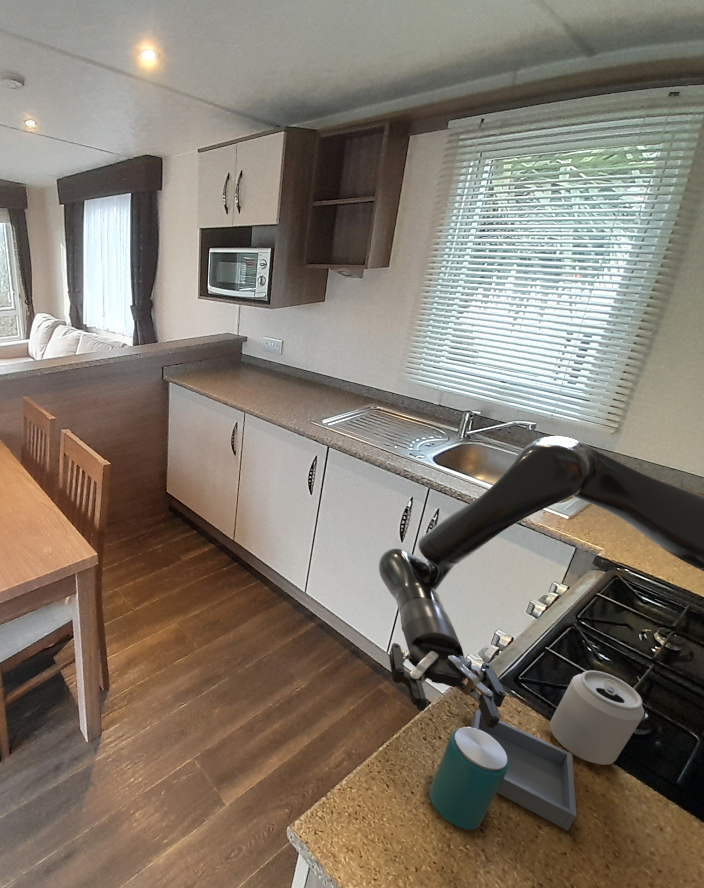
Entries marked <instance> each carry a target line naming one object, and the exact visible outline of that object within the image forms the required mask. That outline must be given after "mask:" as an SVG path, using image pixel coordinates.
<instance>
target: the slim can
mask: <svg viewBox="0 0 704 888" xmlns="http://www.w3.org/2000/svg"><path fill="white" fill-rule="evenodd" d="M508 768H509V761H508V758H507V755H506V753H505V751H504V749H503V748H502V746H501V745H500V744H499V743H498V742H497V741H496V740H495V739H494V738H493V737H491V736H490V735H488V734H487V733H485V732H483V731H481V730H478V729H475V728H471V727H470V726H463V727H460V728H457V729H456V728H455V730H453V731H452V733H451V735H450V736H449V739H448V742H447V744H446V747H445V749H444V752H443V754H442V756H441V759H440V762H439V764H438V766H437V769H436V772H435V774H434V777H433V779H432V782H431V783H430V787H429V789H428V795H429V799H430V802H431V804H432V806H433V807H434V809H435V810H436V812H437V813H438V814H439V816H441V817H442V818H443V819H444V820H445V821H446V822H448V823H450V824H451V825H453V826H455V827H457V828H459V829H462V830H470V831H471V830H476V829H478V828H479V827H480V826H481V825H482V824H483V821H484V819H485V816H486V815H487V813H488V811H489V809H490V807H491V805H492V803H493V800H494V799H495V797H496V795H497V794H498V793H497V791H498V789H499V787H500V785H501V783H502V781H503V779H504V777H505V775H506V773H507V771H508Z"/></svg>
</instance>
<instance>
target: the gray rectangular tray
mask: <svg viewBox="0 0 704 888" xmlns="http://www.w3.org/2000/svg"><path fill="white" fill-rule="evenodd" d="M474 711H475V712H474V714H473V716H472V718H471V720H470V725H469V727H471V728H475V729H478V730H481V731H483V732H485V733H487V734H488V735H490V736H491V737H493V738H494V739H495V740H496V741H497V742H498V743H499V744H500V745H501V746H502V748H503V749H504V751H505V753H506V755H507V758H508V761H509V768H508V771H507V773H506V775H505V777H504V779H503V781H502V783H501V785H500V787H499V789H498V791H497V793H496V794H498V795H500V796H502V797H503V798H506V799H507V800H510V801H511V802H514V803H515V804H517V805H519V806H520V807H523V808H524V809H527V810H528V811H530V812H532V813H534V814H535V815H537V816H540V817H541V818H543V819H545V820H547V821H549V822H550V823H552V824H554V825H556V826H558V827H560V828H561V829H564V830H566V831H568V830H569V829H570V827H571V826H572V824H573V823H574V821H575V820H576V819H577V806H576V805H577V804H576V791H575V790H576V789H575V775H574V774H575V773H574V760H573V759H574V758H573V754H572V753H570V752H569V751H568V750H566V749H564V748H563V749H562V748H561V747H558V746H556V745H554V744H551V743H550V742H548V741H545V740H543V739H541V738H539V737H536V736H534V735H532V734H530V733H528V732H526V731H524V730H521V729H520V728H517V727H515V726H513V725H511V724H508V723H507V722H504V721H502V720H500V719H499V722H498V724H497V725H495V727H494V728H489V727H487V726H486V724H485V721H484V719H483V716H482V714H481V711H480V710H478V709H475V710H474Z"/></svg>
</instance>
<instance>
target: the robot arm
mask: <svg viewBox="0 0 704 888" xmlns="http://www.w3.org/2000/svg"><path fill="white" fill-rule="evenodd" d="M571 497H573V498H576V499H579V500H581V501H583V502H586V503H588V504H589V505H590V504H591V505H593V506H595V507H598V508H600V509H602V510H605V511H606V512H608V513H610V514H612V515H614V516H616V517H617V518H619V519H621V520H622V521H623V522H625V523H627V524H628V525H629V526H630V527H632V528H634V529H635V530H636V531H638V532H639V533H641V534H642V535H643V536H644V537H645V538H647V539H649V541H651V542H653V543H654V544H656V545H657V546H659V547H660V548H661V549H662V550H665V551H666V552H668V553H669V554H671V555H672V556H674V557H675V558H677V559H679V560H680V561H683V562H684V563H686V564H688V565H690V566H692V567H694V568H695V569H698V570H700V571H702V572H704V495H701V494H699V493H696V492H694V491H691V490H689V489H686V488H682V487H680V486H678V485H675V484H672V483H668V482H666V481H663V480H660V479H657V478H655V477H652V476H650V475H648V474H645V473H643V472H640V471H639V470H636V469H635V468H632V467H630V466H629V465H626V464H624V463H622V462H620V461H618V460H617V459H614V458H612V457H610V456H608V455H606V454H605V453H603V452H601V451H599V450H597V449H595V448H593V447H591V446H589V445H587V444H586V443H583V442H582V441H579V440H577V439H574V438H571V437H567V436H557V435H556V436H555V435H552V436H545V437H540V438H538V439H535V440H533V441H532V442H530V443H528V444H527V445H526V446H525V447H524V448H523V449H522V450H521V451H520V452H519V453H518V454H517V456H516V457H515V459H514V461H513V463H512V464H511V465H510V467H509V468H508V469H507V470H506V471H505V472H504V473H503V474H502V475H501V477H499V479H498V480H497V481H496V482H495V483H494V484H493V485H492V486H491V487H490V488H488V489H487V490H486V491H485V492H484V493H482V494H481V495H480V496H479V497H477V498H476V499H475V500H472V502H470V503H469V504H467V505H465V506H464V507H462V508H460V509H459V510H457V511H455V512H453V513H452V514H451V515H450V516H448V517H446V518H445V519H443V520H442V521H441V522H439V523H438V524H437V525H435V526H434V527H433V528H432V529H430V530H429V531H428V532H426V533H425V534H424V535H422V537H421V538H420V539H419V541H418V543H417V547H418V550H419V552H420V553H421V555H422V556H423V557H424V558H425V559H426V561H425V560H423V559H422V558H419V557H418V556H416V555H414V554H412V553H410V552H409V551H407V550H405V549H402V548H398V547H397V548H390V549H388V550H386V551H385V552H384V553H383V554H382V555H381V556H380V559H379V560H378V561H379V562H378V573H379V577H380V578H381V580H382V582H383V584H384V585H385V587H386V589H387V590H388V592H389V593H390V594H391V596H392V597H393V598H394V600H395V601H396V605H397V609H398V612H399V616H400V624H401V631H402V633H403V635H404V639H405V642H406V646H407V650H406V649H403V648H401V645H400V644H398V643H397V642H393V643H391V647H390V650H389V654H388V658H389V665H390V672H391V680H392V681H393V682H394V683H396V684H401V683H402V684H404V686H406V688H407V689H408V693H409V696H410V701H411V703H412V705H414V706H416V708H417V710H418V711H422V712H425V710H426V706H427V704H428V703H427V697H426V693H425V690H424V685H423V684H424V682H425V681H426V680H430V681H431V683H435V684H443V685H445V686H448V687H451V688H456V689H457V690H459V691H460V692H461V693H462V694H463V695H464V696H467V697H470V698H472V699H473V700H474V701H475V702H476V703H477V704H478V708H479V711H480V712H481V714H482V716H483V719H484V721H485V724H486V726H487V727H489V728H494V727H495V725H497V724H498V722H499V720H500V719H501V714H500V712H499V710H498V708H502V706H503V701H504V700H505V698H506V697H507V692H506V690H505V689H504V686H503V685H502V683H501V682H500V681H501V680H500V679H499V677H498V675H497V673H496V672H495V670H494V668H493V667H492V665H491V664H490V663H488V662H482V664H481V665H477V664H472V663H470V661H468V659H466V658H465V655H464V650H463V647H462V645H461V642H460V640H459V638H458V635H457V633H456V630H455V627H454V625H453V622H452V620H451V618H450V616H449V615H448V613H447V612H446V610H445V608H444V604H443V603H442V600H441V598H440V596H439V594H438V592H437V589H438V588H440V586H441V584H442V582H443V581H444V580H445V578H446V577H447V576H448V575H449V574H450V572H451V571H452V570H453V568H454V567H456V566H457V565H458V564H459V563H461V562H462V561H464V560H465V559H467V558H468V557H470V556H471V555H473V554H474V553H476V552H477V551H478V550H480V549H481V548H482V547H484V546H485V545H487V544H488V543H489V542H490V541H492V540H494V538H496V537H498V536H499V535H500V534H501V533H503V532H504V531H506V530H507V529H509V528H510V527H512V526H514V525H516V524H517V523H519V522H520V521H522V520H524V519H526V518H528V517H530V516H532V515H534V514H536V513H538V512H540V511H541V510H544V509H546V508H548V507H551V506H553V505H556V504H557V503H559V502H561V501H564V500H568V499H569V498H571ZM406 660H408V661H409V663H410V664H411V665H412V666H414V668H413V669H412V670H411V671H410V672H408V671H406V670H405V664H404V663H405V662H406ZM465 680H467V682H466V684H465V683H464V682H465Z"/></svg>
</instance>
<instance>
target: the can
mask: <svg viewBox="0 0 704 888" xmlns="http://www.w3.org/2000/svg"><path fill="white" fill-rule="evenodd" d="M644 715H645V710H644V707H643V699H642V697H641V695H640V694H639V693H638V692H637V691H636V689H634V688H633V687H632V686H631V685H629V684H628V683H626V682H625V681H623V680H622V679H620V678H618V677H616V676H614V675H612V674H609V673H606V672H604V671H599V670H594V669H593V670H592V669H591V670H586V671H583V672H582V673H578V674H576V675H574V676H573V677H572V678H571V681H570V683H569V685H568V687H567V688H566V690H565V692H564V694H563V696H562V698H561V700H560V702H559V703H558V706H557V707H556V709H555V711H554V714H552V717H551V719H550V721H549V724H548V725H549V730H550V732H551V733H552V735H553V737H554V738H555V739H556V740H557V742H558V743H559V744H560V746H561V747H563V749H564V750H566V751H567V752H569V753H571V754H572V755H573V756H575V757H577V758H579V759H581V760H583V761H586V762H589V763H593V764H597V765H603V766H604V765H611V764H613V763H614V762H616V761H617V760H618V757H619V756H620V754H621V752H622V751H623V749H624V748H625V746H626V745H627V743H628V742H629V740H630V739H631V737H632V735H633V734H634V732H635V731H636V729H637V727H638V726H639V724H641V721H642V719H643V718H644Z"/></svg>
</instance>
